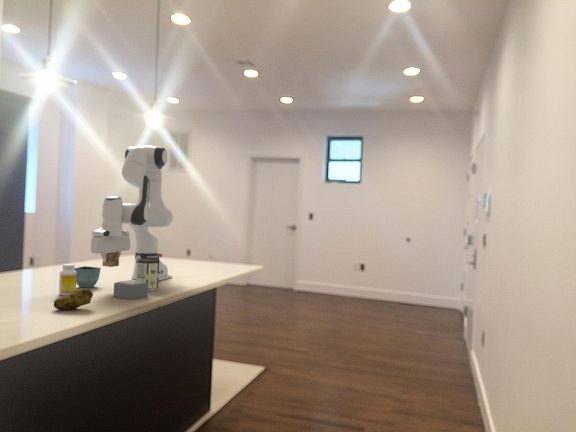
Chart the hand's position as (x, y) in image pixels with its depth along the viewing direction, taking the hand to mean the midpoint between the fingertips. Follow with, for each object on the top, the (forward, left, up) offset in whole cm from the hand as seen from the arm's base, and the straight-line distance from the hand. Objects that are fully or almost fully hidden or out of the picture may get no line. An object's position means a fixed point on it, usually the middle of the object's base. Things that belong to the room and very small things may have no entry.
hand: (110, 261), depth 225 cm
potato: (+36, +21, -14) cm, 44 cm away
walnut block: (0, 0, -2) cm, 2 cm away
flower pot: (+1, -15, -14) cm, 20 cm away
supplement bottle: (+19, -5, -14) cm, 24 cm away
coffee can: (-15, +8, -14) cm, 22 cm away
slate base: (+4, +17, -13) cm, 22 cm away
